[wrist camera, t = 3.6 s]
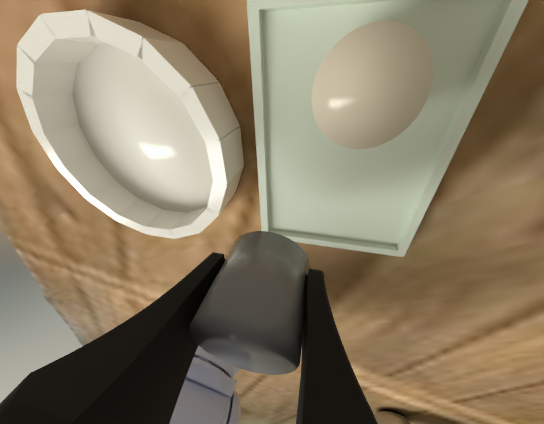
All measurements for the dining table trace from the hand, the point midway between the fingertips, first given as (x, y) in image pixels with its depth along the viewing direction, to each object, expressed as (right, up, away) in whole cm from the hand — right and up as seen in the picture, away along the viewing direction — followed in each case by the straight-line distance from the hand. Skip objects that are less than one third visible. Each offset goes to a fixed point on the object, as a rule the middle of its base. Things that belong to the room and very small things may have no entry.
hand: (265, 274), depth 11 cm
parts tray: (+5, +7, +4) cm, 10 cm away
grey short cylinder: (0, +1, +1) cm, 1 cm away
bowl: (-9, +9, +7) cm, 15 cm away
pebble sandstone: (+5, +10, +1) cm, 12 cm away
